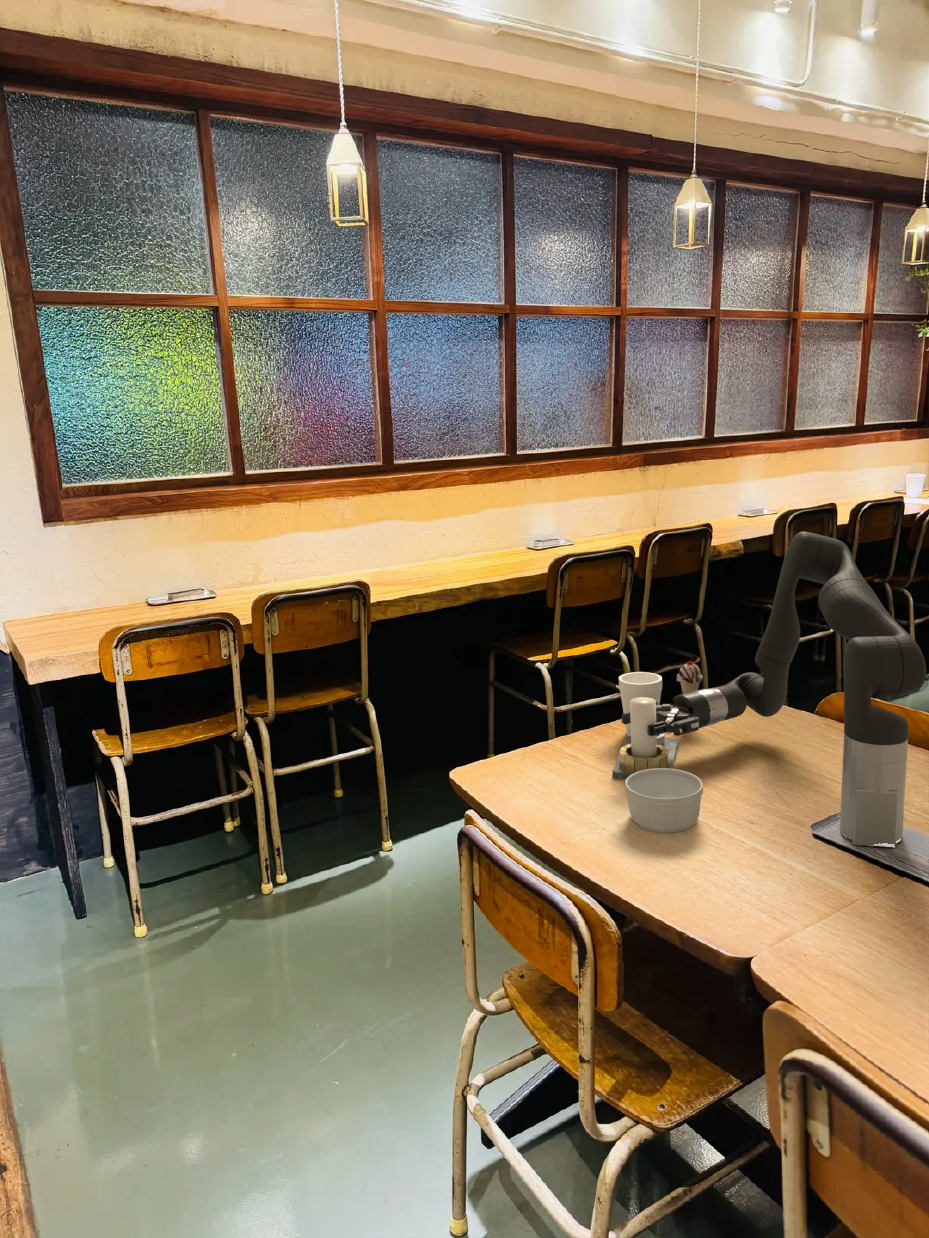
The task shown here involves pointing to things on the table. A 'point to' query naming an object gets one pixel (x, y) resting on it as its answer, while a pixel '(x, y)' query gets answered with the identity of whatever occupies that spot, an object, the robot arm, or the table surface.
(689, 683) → the ice cream cone
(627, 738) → the grey ring holder base
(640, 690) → the foam cup
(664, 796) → the ramekin
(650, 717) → the white rounded cylinder
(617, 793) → the table surface
